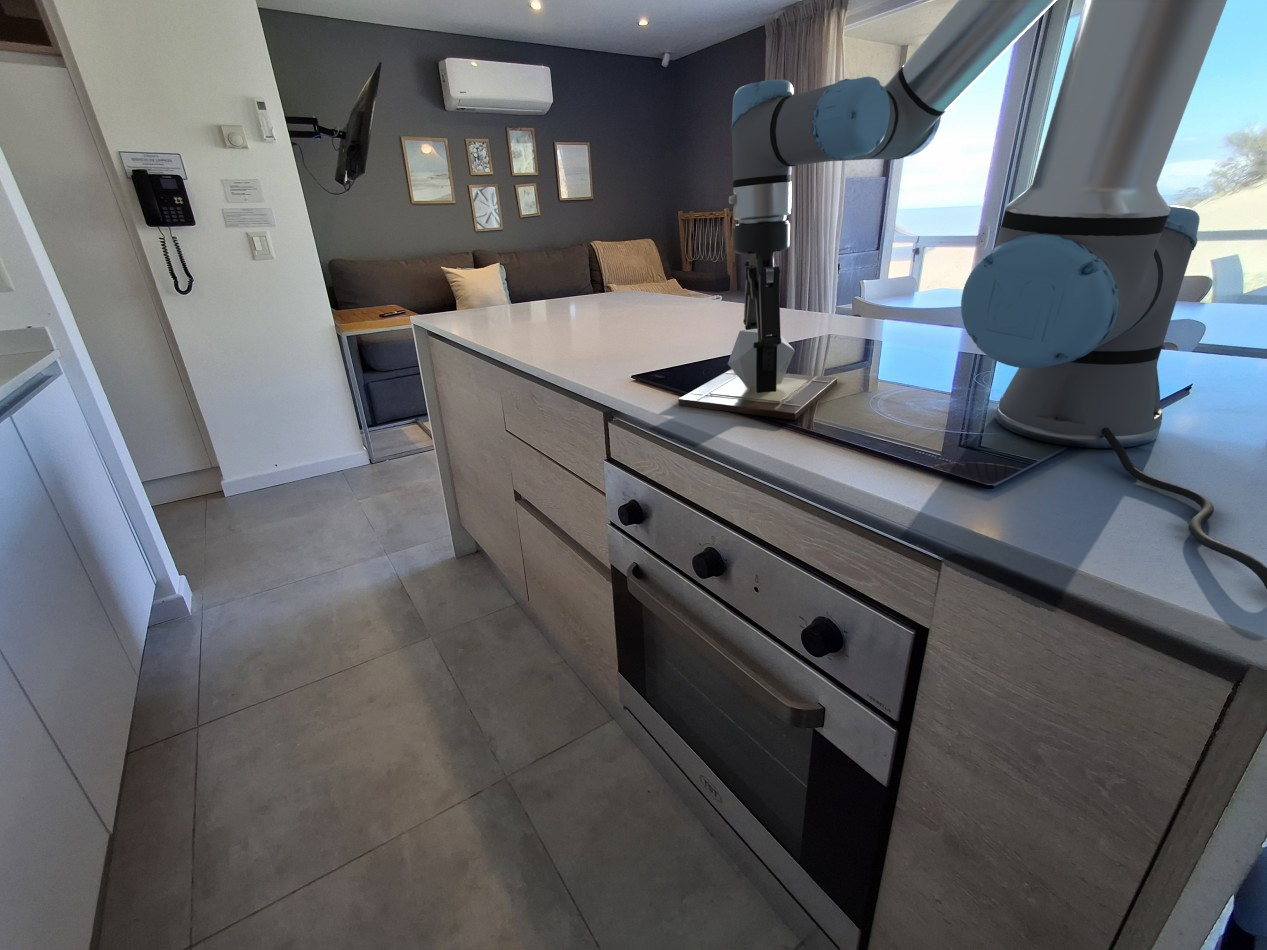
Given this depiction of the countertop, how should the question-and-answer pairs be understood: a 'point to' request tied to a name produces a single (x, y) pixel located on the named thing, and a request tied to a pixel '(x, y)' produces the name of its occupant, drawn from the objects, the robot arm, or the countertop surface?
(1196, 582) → the countertop surface
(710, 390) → the board
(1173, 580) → the countertop surface
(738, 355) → the die
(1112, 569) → the countertop surface
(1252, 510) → the countertop surface
